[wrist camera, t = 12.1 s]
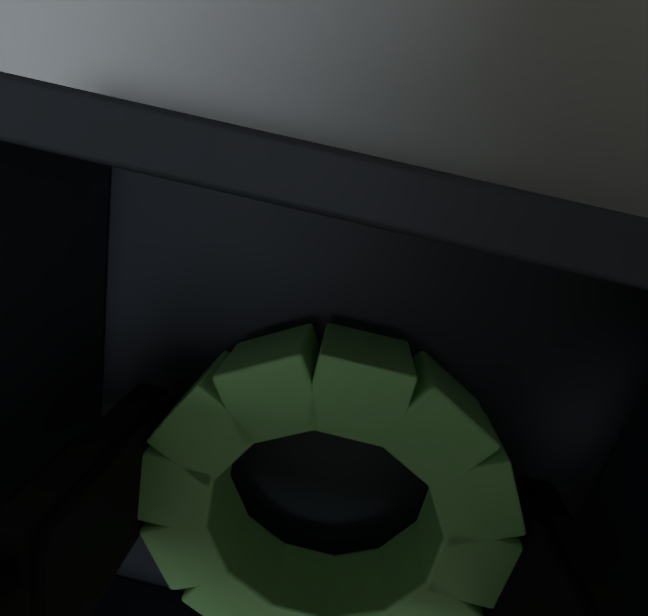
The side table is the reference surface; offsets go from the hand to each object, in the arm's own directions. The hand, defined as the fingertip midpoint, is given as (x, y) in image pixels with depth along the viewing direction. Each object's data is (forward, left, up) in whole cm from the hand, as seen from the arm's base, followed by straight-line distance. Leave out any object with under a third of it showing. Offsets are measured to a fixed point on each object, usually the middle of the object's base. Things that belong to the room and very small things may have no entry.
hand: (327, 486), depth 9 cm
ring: (0, 0, 0) cm, 0 cm away
